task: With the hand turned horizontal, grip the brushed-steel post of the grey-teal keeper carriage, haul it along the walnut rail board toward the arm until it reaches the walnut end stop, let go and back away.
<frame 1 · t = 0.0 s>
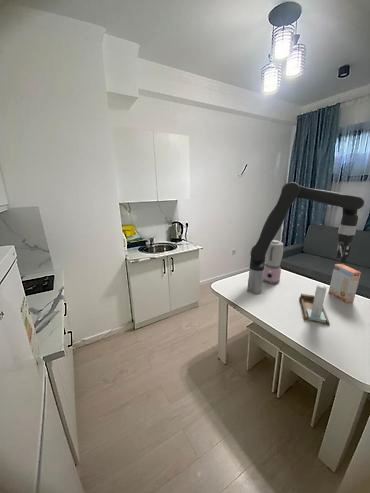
hand: (340, 260, 118), 29 cm above the table, tool pointing down, fingers open, 8 cm apart
cracker box: (340, 297, 134), on the table
blender: (270, 281, 157), on the table
keeper: (318, 302, 111), point 10 cm above the table, slide at 0.0 cm
rail board: (312, 310, 121), on the table
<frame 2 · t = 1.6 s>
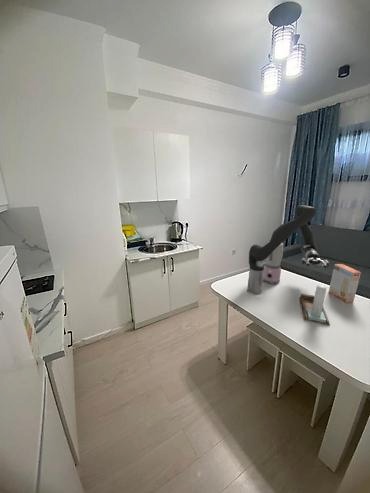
hand: (316, 266, 124), 24 cm above the table, tool horizontal, fingers open, 8 cm apart
nothing on the table moved.
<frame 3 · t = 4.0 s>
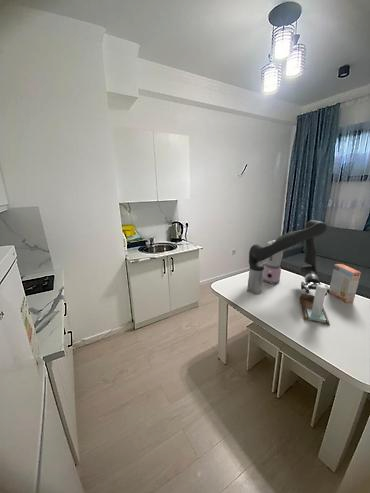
hand: (316, 293, 117), 12 cm above the table, tool horizontal, fingers open, 8 cm apart
nothing on the table moved.
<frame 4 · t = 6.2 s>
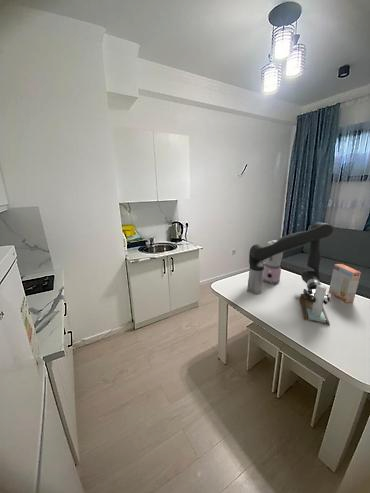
hand: (320, 301, 108), 12 cm above the table, tool horizontal, fingers closed on keeper, 4 cm apart
keeper: (318, 302, 111), point 10 cm above the table, slide at 0.0 cm, touching gripper
everything else where it was.
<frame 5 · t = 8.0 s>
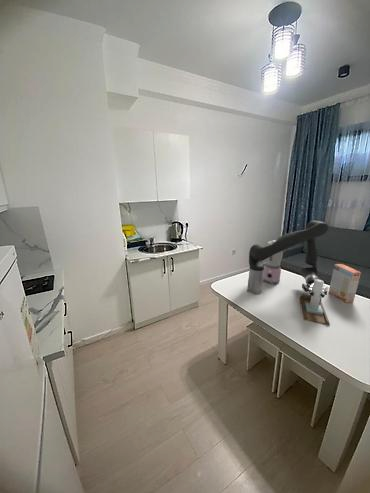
hand: (317, 295, 114), 12 cm above the table, tool horizontal, fingers closed on keeper, 4 cm apart
keeper: (316, 295, 117), point 10 cm above the table, slide at 7.1 cm, touching gripper
everything else where it was.
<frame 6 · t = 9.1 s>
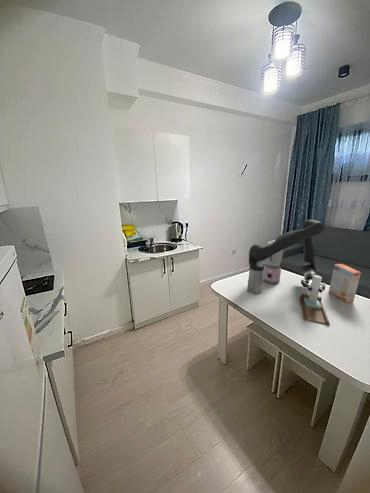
hand: (315, 290, 120), 12 cm above the table, tool horizontal, fingers closed on keeper, 4 cm apart
keeper: (314, 290, 122), point 10 cm above the table, slide at 12.8 cm, touching gripper
everything else where it was.
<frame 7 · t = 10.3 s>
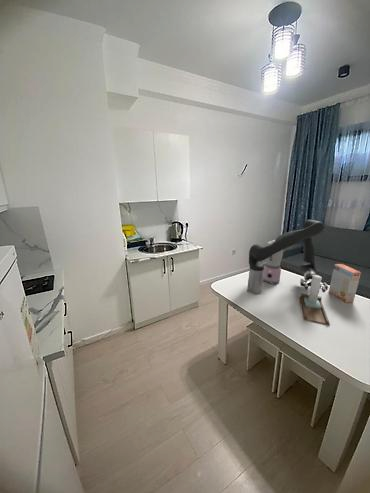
hand: (315, 289, 120), 12 cm above the table, tool horizontal, fingers open, 8 cm apart
keeper: (314, 290, 122), point 10 cm above the table, slide at 12.9 cm
everything else where it was.
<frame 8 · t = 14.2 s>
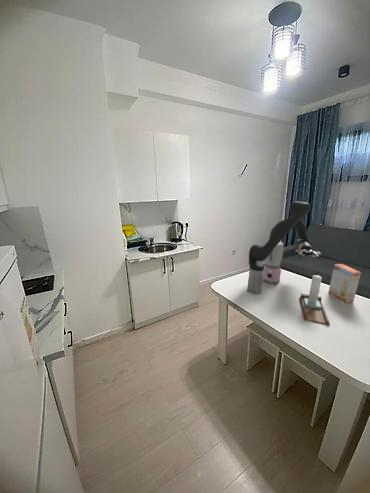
hand: (309, 256, 128), 28 cm above the table, tool horizontal, fingers open, 8 cm apart
nothing on the table moved.
at the end: keeper slide at 12.9 cm; the gripper is holding nothing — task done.
